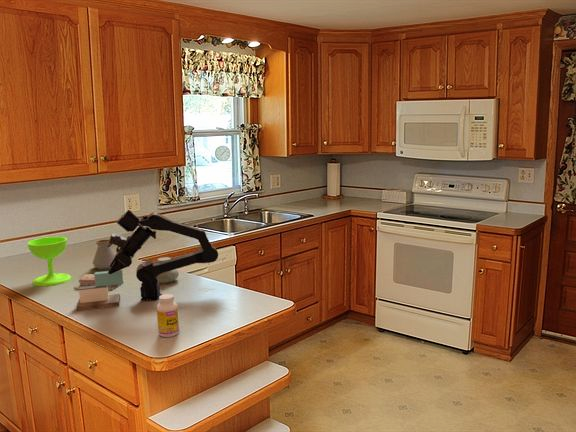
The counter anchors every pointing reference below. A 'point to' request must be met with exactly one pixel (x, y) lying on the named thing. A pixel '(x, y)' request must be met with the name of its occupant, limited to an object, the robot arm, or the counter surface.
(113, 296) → the brown flat block
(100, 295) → the beige rectangular block
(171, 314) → the supplement bottle
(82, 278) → the packaged product
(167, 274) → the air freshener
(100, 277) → the mint green pillar
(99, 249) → the coffee pot
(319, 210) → the counter surface
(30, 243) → the wineglass
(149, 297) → the robot arm
